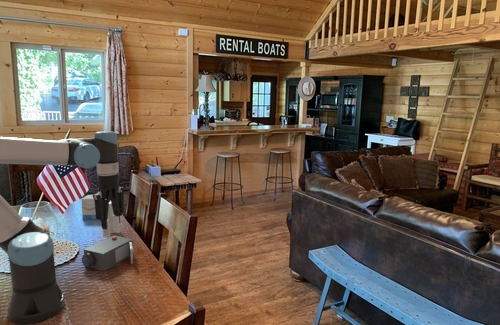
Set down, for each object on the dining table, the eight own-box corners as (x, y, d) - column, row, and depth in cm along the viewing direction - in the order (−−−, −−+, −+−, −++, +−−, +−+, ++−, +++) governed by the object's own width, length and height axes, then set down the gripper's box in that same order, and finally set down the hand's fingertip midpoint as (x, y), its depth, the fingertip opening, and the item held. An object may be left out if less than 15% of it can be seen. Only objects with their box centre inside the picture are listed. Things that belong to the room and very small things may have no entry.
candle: (120, 231, 180) (118, 202, 178) (105, 234, 176) (103, 204, 174) (116, 227, 186) (115, 199, 183) (102, 230, 182) (100, 201, 179)
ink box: (97, 219, 197) (96, 198, 195) (82, 219, 198) (80, 198, 195) (104, 214, 206) (103, 194, 204) (89, 214, 206) (87, 194, 204)
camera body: (99, 273, 137) (98, 254, 136) (80, 268, 141) (78, 249, 140) (133, 255, 154) (132, 237, 152) (115, 250, 158) (114, 233, 157)
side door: (133, 264, 145) (133, 249, 143) (130, 264, 144) (129, 249, 143) (132, 255, 152) (131, 241, 151) (129, 255, 152) (128, 241, 151)
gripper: (97, 179, 124) (101, 244, 128) (132, 170, 140) (135, 228, 144) (81, 177, 127) (85, 240, 131) (117, 168, 143) (120, 225, 147)
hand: (111, 234), depth 138 cm, fingers open, 4 cm apart
